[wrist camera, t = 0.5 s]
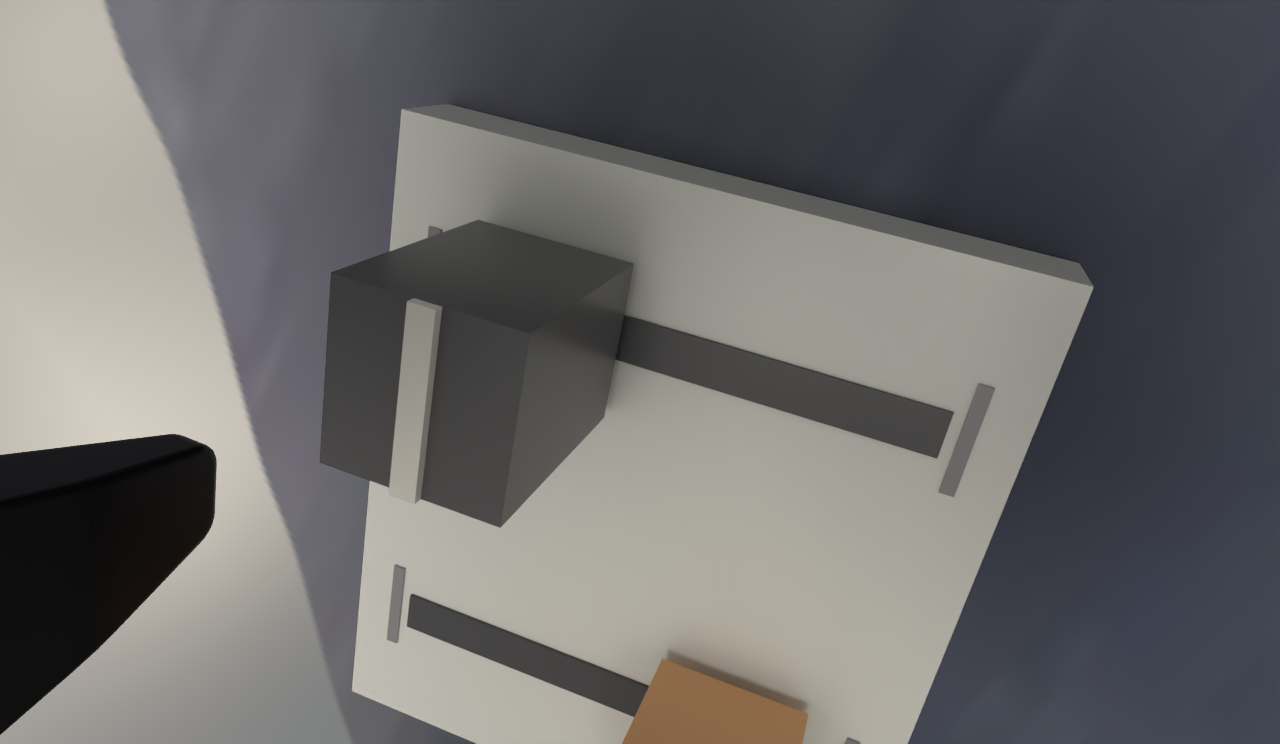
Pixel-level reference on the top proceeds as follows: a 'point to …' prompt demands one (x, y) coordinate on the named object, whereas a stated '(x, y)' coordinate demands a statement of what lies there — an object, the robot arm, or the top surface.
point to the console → (718, 452)
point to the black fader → (469, 365)
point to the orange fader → (709, 713)
